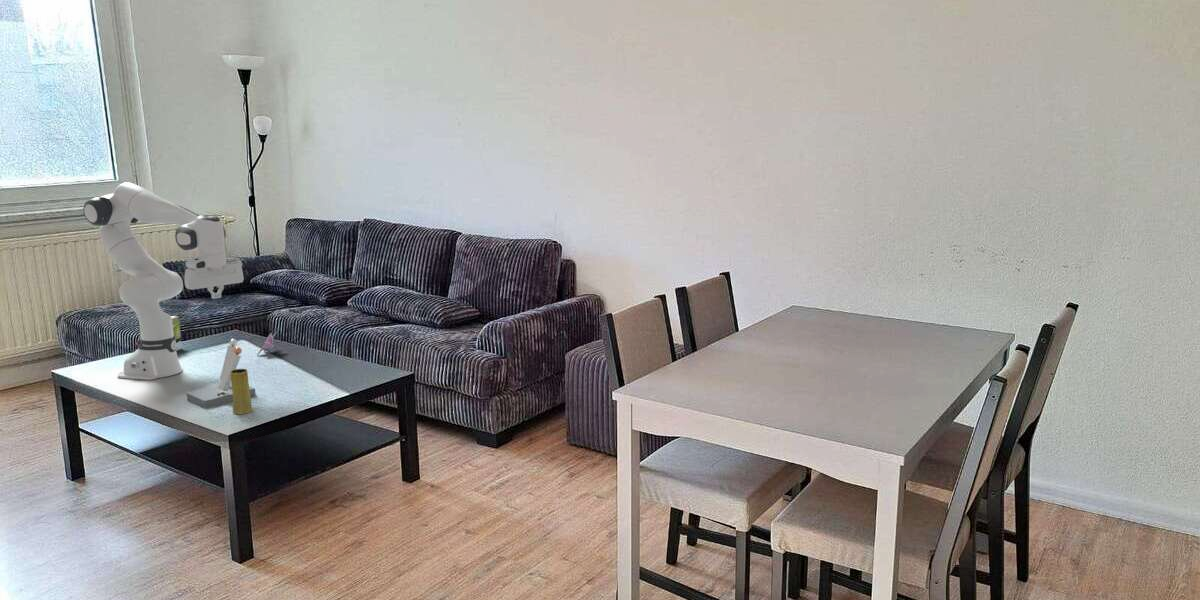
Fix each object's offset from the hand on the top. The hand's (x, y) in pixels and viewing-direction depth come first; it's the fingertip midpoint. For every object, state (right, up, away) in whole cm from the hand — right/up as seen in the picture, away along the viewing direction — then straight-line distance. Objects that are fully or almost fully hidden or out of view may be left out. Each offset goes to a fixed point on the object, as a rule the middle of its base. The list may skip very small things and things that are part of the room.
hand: (216, 298), depth 313 cm
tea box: (-46, -23, +51) cm, 72 cm away
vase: (+19, -39, -22) cm, 48 cm away
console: (+5, -35, -8) cm, 36 cm away
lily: (+1, -24, +49) cm, 54 cm away
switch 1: (+4, -30, -3) cm, 30 cm away
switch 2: (+8, -32, -12) cm, 35 cm away
